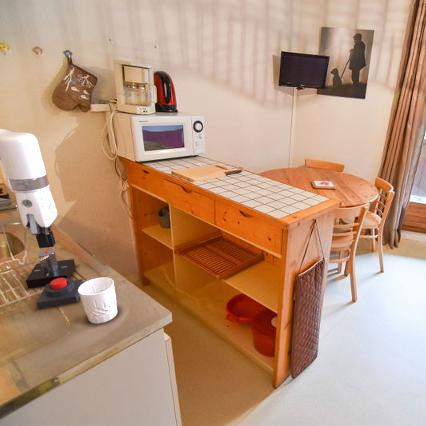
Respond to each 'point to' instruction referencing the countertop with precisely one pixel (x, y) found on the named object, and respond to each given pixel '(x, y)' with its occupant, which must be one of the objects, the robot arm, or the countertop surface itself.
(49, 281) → the stove panel
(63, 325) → the countertop surface
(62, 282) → the button
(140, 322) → the countertop surface
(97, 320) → the white cup
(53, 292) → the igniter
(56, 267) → the stove knob
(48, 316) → the countertop surface
